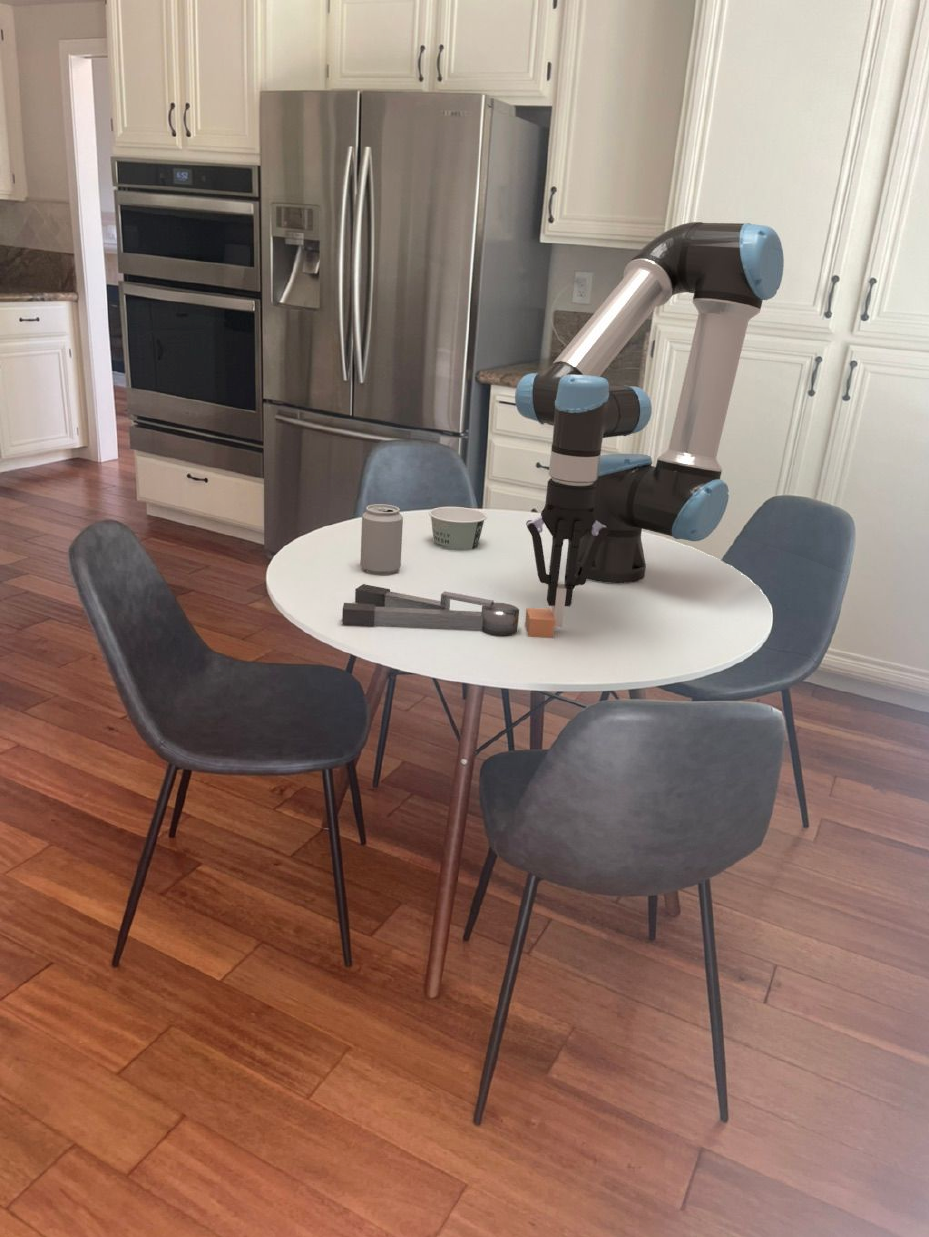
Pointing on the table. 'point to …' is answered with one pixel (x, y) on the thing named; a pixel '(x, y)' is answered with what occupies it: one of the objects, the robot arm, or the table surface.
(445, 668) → the table surface
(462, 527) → the food container
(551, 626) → the terracotta clay cube
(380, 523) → the can
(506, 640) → the table surface
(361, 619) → the tongs fixed
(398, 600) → the tongs arm
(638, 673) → the table surface
